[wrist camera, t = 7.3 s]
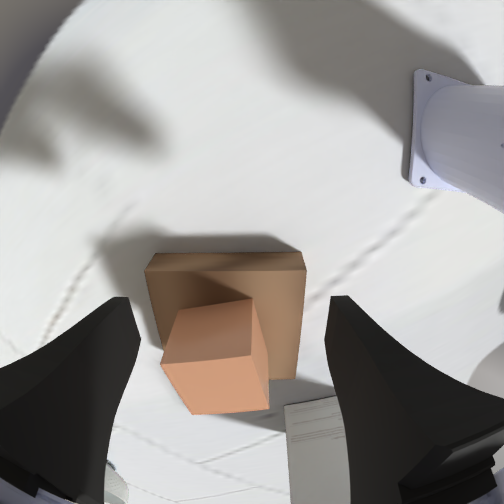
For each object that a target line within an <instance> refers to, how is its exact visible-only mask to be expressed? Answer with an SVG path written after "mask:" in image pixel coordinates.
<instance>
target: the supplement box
mask: <svg viewBox="0 0 504 504" xmlns="http://www.w3.org/2000/svg"><path fill="white" fill-rule="evenodd" d="M284 416H285V428H286V441H287V455H288V469H289V483H290V498H291V504H350V476H349V463H348V453H347V444H346V436H345V428H344V423H343V418H342V413H341V410H340V406H339V402H338V399H337V396H334V397H329V398H324V399H320V400H315V401H309V402H304V403H298V404H292V405H286V406H284Z"/></svg>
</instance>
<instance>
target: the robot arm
mask: <svg viewBox="0 0 504 504" xmlns="http://www.w3.org/2000/svg"><path fill="white" fill-rule="evenodd" d="M426 75H427V76H428V77H429V81H427V80H426ZM421 177H423V182H421V183H420V178H421ZM409 183H410V184H411V185H413V186H415V187H422V188H432V189H441V190H449V191H457V192H465V193H467V194H469V195H471V196H473V197H475V198H477V199H479V200H481V201H482V202H484V203H486V204H488V205H490V206H491V207H493V208H495V209H497V210H498V211H500V212H502V213H504V86H492V85H469V84H467V83H464V82H461V81H458V80H455V79H453V78H450V77H446V76H443V75H440V74H437V73H434V72H430V71H427V70H423V69H417V70H415V72H414V111H413V133H412V147H411V159H410V169H409ZM324 341H325V348H326V355H327V361H328V366H329V370H330V374H331V377H332V381H333V384H334V388H335V392H336V395H337V399H338V402H339V406H340V410H341V413H342V418H343V423H344V428H345V436H346V444H347V453H348V463H349V476H350V504H504V468H502V469H500V470H499V471H497V472H496V473H495V474H493V473H492V470H491V467H493V466H494V465H495V461H494V458H493V456H492V455H493V454H495V453H496V452H497V451H498V450H499V449H500V448H501V447H502V446H503V445H504V399H503V398H500V397H497V396H494V395H491V394H488V393H485V392H482V391H480V390H477V389H475V388H473V387H470V386H468V385H466V384H464V383H462V382H459V381H457V380H455V379H453V378H452V377H450V376H448V375H446V374H444V373H443V372H441V371H439V370H437V369H436V368H434V367H432V366H431V365H429V364H428V363H426V362H425V361H423V360H422V359H420V358H419V357H417V356H416V355H414V354H413V353H412V352H410V351H409V350H408V349H406V348H405V347H404V346H403V345H401V344H400V343H399V342H398V341H396V340H395V339H394V338H393V337H392V336H390V335H389V334H388V333H387V332H386V331H385V330H384V329H383V328H381V327H380V326H379V325H378V324H377V323H376V322H375V321H374V320H373V319H372V318H371V317H370V316H369V315H368V314H367V313H366V312H364V311H363V310H362V309H361V308H360V307H359V306H358V305H357V304H356V303H355V302H354V301H353V300H352V299H351V298H350V297H349V296H348V295H346V296H331V299H330V306H329V313H328V320H327V327H326V333H325V339H324ZM140 342H141V337H140V334H139V331H138V328H137V325H136V322H135V318H134V315H133V312H132V308H131V305H130V302H129V298H128V297H113V298H111V299H110V300H108V301H107V302H105V303H104V304H102V305H101V306H99V307H98V308H97V309H95V310H94V311H93V312H91V313H90V314H89V315H87V316H86V317H85V318H83V319H82V320H81V321H79V322H78V323H77V324H75V325H74V326H73V327H71V328H70V329H68V330H67V331H65V332H64V333H63V334H61V335H60V336H58V337H57V338H56V339H54V340H53V341H51V342H50V343H48V344H46V345H45V346H43V347H42V348H40V349H38V350H36V351H35V352H33V353H31V354H29V355H28V356H25V357H23V358H21V359H19V360H17V361H15V362H13V363H11V364H9V365H7V366H4V367H2V368H0V504H74V503H78V504H104V483H105V470H106V460H107V453H108V447H109V441H110V436H111V431H112V427H113V422H114V418H115V415H116V412H117V408H118V406H119V403H120V400H121V398H122V395H123V393H124V390H125V388H126V385H127V383H128V380H129V377H130V375H131V372H132V370H133V367H134V365H135V362H136V358H137V354H138V351H139V346H140ZM65 499H66V500H65ZM67 500H69V501H71V502H74V503H71V502H69V501H67Z"/></svg>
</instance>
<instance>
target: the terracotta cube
mask: <svg viewBox="0 0 504 504" xmlns="http://www.w3.org/2000/svg"><path fill="white" fill-rule="evenodd" d="M160 365H161V367H162V369H163V370H164V372H165V374H166V375H167V377H168V379H169V380H170V382H171V383H172V385H173V387H174V388H175V390H176V391H177V393H178V394H179V396H180V398H181V399H182V401H183V402H184V404H185V405H186V407H187V408H188V410H189V411H190V413H191V414H192V415H201V414H221V413H235V412H246V411H256V410H265V409H269V377H268V352H267V349H266V345H265V341H264V338H263V334H262V330H261V327H260V323H259V319H258V316H257V312H256V308H255V305H254V301H253V298H251V299H245V300H239V301H233V302H227V303H221V304H214V305H208V306H201V307H195V308H188V309H181V310H178V313H177V316H176V319H175V322H174V325H173V327H172V330H171V333H170V336H169V339H168V342H167V345H166V348H165V351H164V354H163V357H162V360H161V363H160Z"/></svg>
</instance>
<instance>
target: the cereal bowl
mask: <svg viewBox="0 0 504 504" xmlns="http://www.w3.org/2000/svg"><path fill="white" fill-rule="evenodd" d="M128 497H129V489H128V486H127V484H126V482H125V481H124V479H123V478H122V477H121V476H120V475H119V474H118V473H117V472H115V471H114V470H113V468H112V467H111V466H110V465H109V464H108V463H107V462H106V470H105V483H104V502H106V503H110V504H127V502H128Z"/></svg>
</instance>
